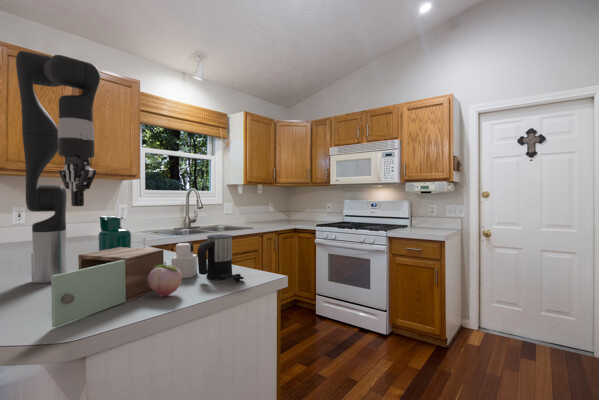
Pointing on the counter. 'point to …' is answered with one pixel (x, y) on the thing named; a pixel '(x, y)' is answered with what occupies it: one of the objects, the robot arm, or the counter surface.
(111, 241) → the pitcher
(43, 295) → the counter surface
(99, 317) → the counter surface
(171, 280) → the decorative fruit
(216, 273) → the milk frother
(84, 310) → the cabinet door
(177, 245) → the medicine bottle
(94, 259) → the cabinet
